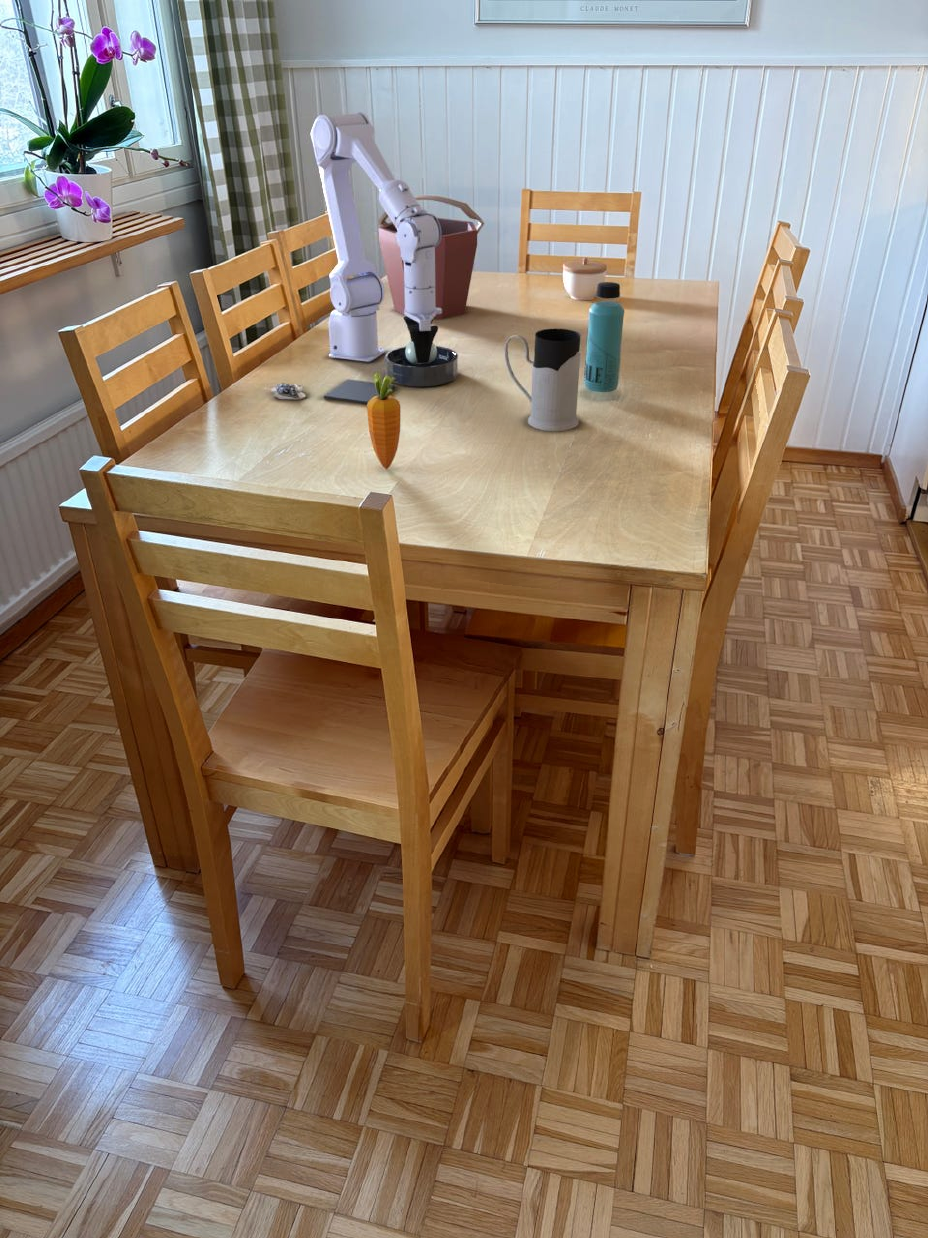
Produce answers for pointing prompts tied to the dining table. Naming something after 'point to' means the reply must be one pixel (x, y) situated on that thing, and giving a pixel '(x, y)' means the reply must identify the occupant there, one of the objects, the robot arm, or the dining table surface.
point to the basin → (422, 368)
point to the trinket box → (583, 278)
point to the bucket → (437, 260)
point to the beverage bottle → (604, 340)
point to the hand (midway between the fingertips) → (421, 358)
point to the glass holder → (552, 378)
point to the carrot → (384, 421)
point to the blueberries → (288, 391)
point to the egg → (412, 356)
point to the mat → (355, 391)
